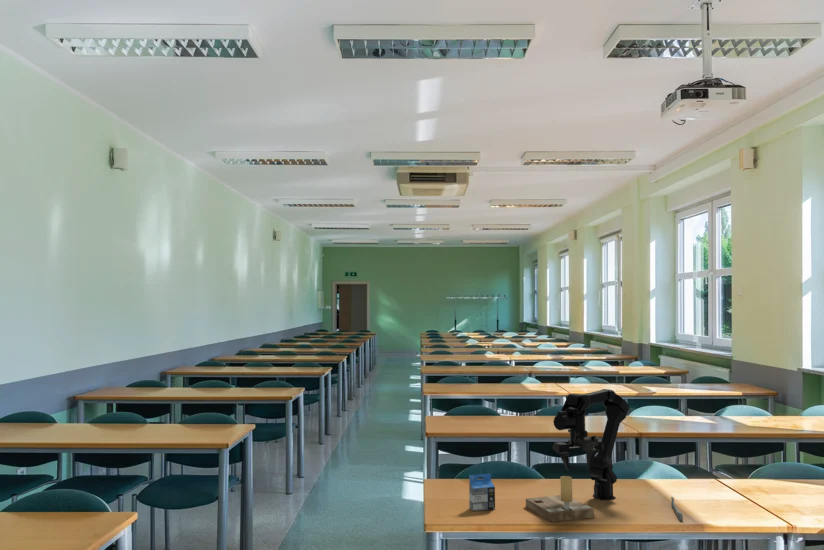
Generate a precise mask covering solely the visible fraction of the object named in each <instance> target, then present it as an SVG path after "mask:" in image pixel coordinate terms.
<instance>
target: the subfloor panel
mask: <svg viewBox="0 0 824 550" xmlns="http://www.w3.org/2000/svg"><path fill="white" fill-rule="evenodd" d="M525 507H526V508H527V509H529V510H531V511H533V512H534V513H536V514H537V513H538V514H537V515H539V516H541V517H542V516H543V518H544V519H545V520H547V519H548V520H547V521H549V522H551V521H552V522H551V523H557V522H556V521H559V522H565V521H566V520H568V521H574V520H576V519H577V520H583V519H584V518H586V519H592V518H593V517H594V518H595V508H594V507H591V506H589V505H587V504H585V503H583V502H581V501H579V500H577V499H574V498H573V497H572V502H569V510H566V511H565V510H564V502H563V501H561V494H558V495H557V494H555V495H548V496H540V497H539V496H538V497H527V498H525ZM594 518H593V519H594ZM566 522H567V521H566Z"/></svg>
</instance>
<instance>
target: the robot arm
mask: <svg viewBox="0 0 824 550" xmlns="http://www.w3.org/2000/svg"><path fill="white" fill-rule="evenodd" d="M597 403H602V405H603V407H605V416H606V424H605V427H604V431H603V434H602V438H601V440H599V437H598V436H597V435H596V436H594V435H593V436H589V435H588V434H589V433H588V431H587V430H586V416H588V415H589V413H590V412H588V411H587V410H586V409H588V408H590V407H591V405H595V404H597ZM629 410H630V405H629V404H628V402H627V401H626V400H625V399H624V398H623V397H622V396H620V395H619V394H617V393H616V392H615V391H614V390H612V389H607V388H602V389H600V390H596V391H592V392H587V393H569V394H568V395H567V397H566V399H565V401H564V404H563V405H562V408H561V410H560V411H557V415H555V416H554V418H553V425H554V427H555V429H556V430H557V431H565V430H567V433H569V439H568V440H567V441H568V443H566V442H563V441H558V442H553V444H552V451H555V453H557V454H558V455H559V456H560V459H561V461H562V463H563V465H564V468H565V469H566V471H569V469H570V461H569V458H570V454H571V452H570V450H577V449H580V450H581V451H583V452H585V453H586V464H587V469H588V473H589V477H590V480H591V481H594V484H593V494H592V496H593V497H594V496H595V497H594V498H597V499H599V500H600V501H601V500H611V499H612V500H613V499H616V496H615V495H614V484H615V483H617V479H618V477H617V475H616V473H615V472H614V471H613V468H614V467H613V466H614V465H613V462H612V461H613V460H612V459H611V458H612V453H613V451H614V447H615V443H616V439H617V436H618V431H619V427H620V424H621V423H622V422H623V421H624V420H625V419H626V418H627V417H628V413H629Z"/></svg>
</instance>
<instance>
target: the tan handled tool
mask: <svg viewBox="0 0 824 550" xmlns="http://www.w3.org/2000/svg"><path fill="white" fill-rule="evenodd" d="M559 481H560V482H559V483H560V495H561V501H563V502H564V510H565V511H566V510H569V502H572V498H573V477H572V476H569V475H562V476H560V478H559Z"/></svg>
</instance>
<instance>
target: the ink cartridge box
mask: <svg viewBox="0 0 824 550" xmlns="http://www.w3.org/2000/svg"><path fill="white" fill-rule="evenodd" d="M468 476H469V477H468V478H469V482H468V484H469V486H468V488H469V492H468V495H469V497H468V499H469V500H468V504H469V506H468V507H469V510H471V511H472V512H478V511H480V512H481V511H489V510H490V511H491V510H496V487H495V485H494V484H493V481H492V473H480V474H469V475H468ZM478 478H479V479H478Z"/></svg>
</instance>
